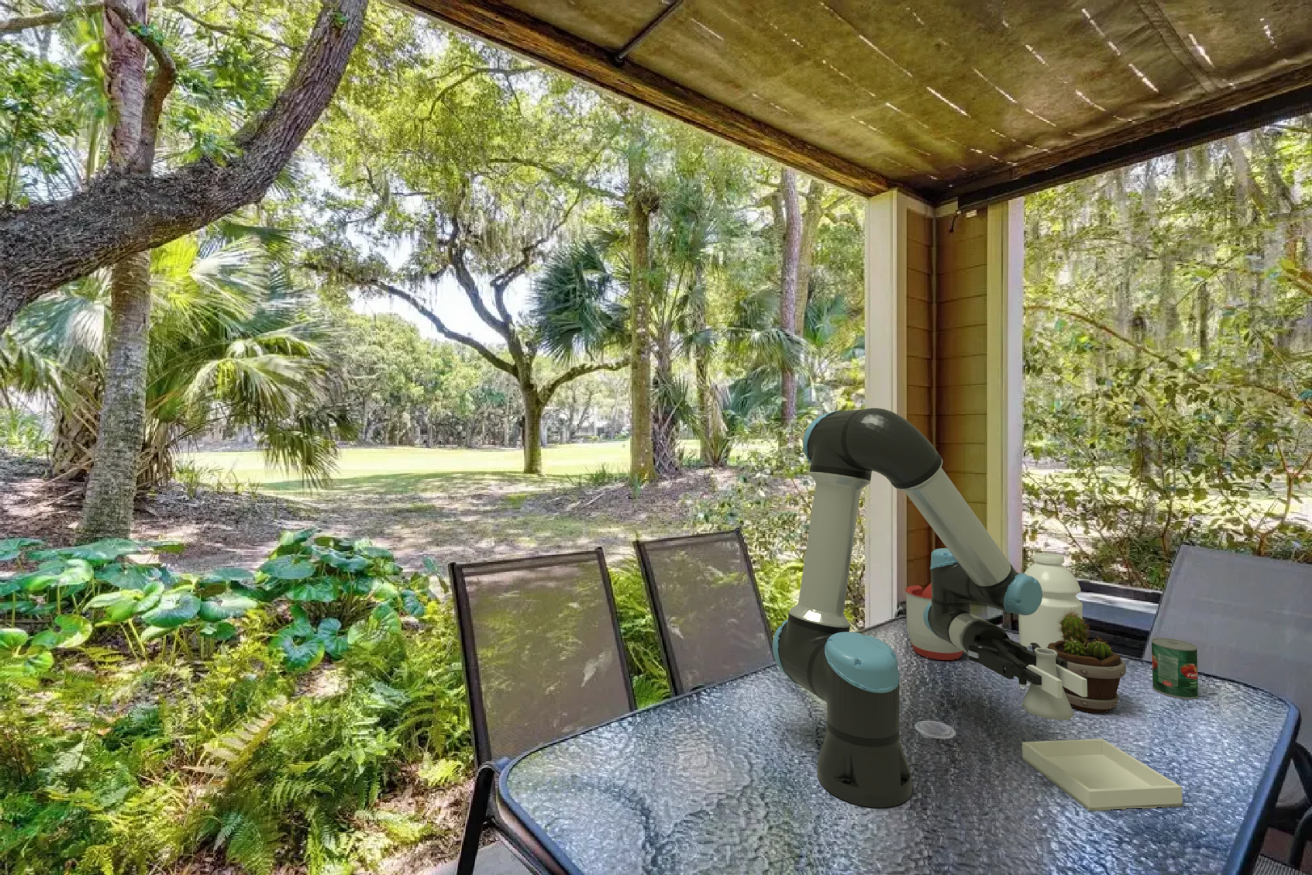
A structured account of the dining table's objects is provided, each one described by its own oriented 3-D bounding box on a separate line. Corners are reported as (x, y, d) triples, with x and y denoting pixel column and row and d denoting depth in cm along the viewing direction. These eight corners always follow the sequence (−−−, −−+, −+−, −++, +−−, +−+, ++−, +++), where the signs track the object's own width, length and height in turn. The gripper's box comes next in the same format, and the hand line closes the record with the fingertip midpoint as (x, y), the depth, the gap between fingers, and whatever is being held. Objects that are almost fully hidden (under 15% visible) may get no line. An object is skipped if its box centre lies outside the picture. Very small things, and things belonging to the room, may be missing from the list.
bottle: (1006, 657, 155) (1004, 552, 156) (1042, 650, 160) (1040, 548, 161) (1059, 677, 142) (1057, 561, 142) (1097, 668, 147) (1094, 557, 147)
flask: (1076, 726, 91) (1074, 661, 91) (1022, 715, 95) (1020, 654, 95) (1072, 707, 97) (1070, 647, 97) (1021, 698, 101) (1019, 640, 101)
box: (1089, 811, 90) (1089, 791, 90) (1022, 758, 105) (1022, 742, 106) (1182, 806, 91) (1181, 787, 91) (1102, 755, 106) (1102, 738, 106)
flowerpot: (1145, 721, 119) (1142, 623, 119) (1061, 715, 122) (1058, 619, 122) (1105, 692, 133) (1103, 604, 133) (1031, 687, 136) (1029, 601, 136)
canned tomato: (1203, 702, 127) (1201, 651, 128) (1156, 694, 132) (1154, 645, 132) (1193, 689, 134) (1192, 641, 134) (1149, 682, 138) (1148, 635, 139)
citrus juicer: (958, 644, 166) (957, 573, 167) (977, 666, 149) (976, 588, 150) (900, 640, 170) (899, 571, 170) (912, 662, 153) (910, 585, 153)
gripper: (1020, 656, 114) (1123, 710, 91) (939, 659, 113) (1022, 715, 90) (1019, 617, 115) (1121, 662, 91) (938, 621, 114) (1020, 666, 90)
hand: (1072, 688), depth 91 cm, fingers closed on flask, 3 cm apart
